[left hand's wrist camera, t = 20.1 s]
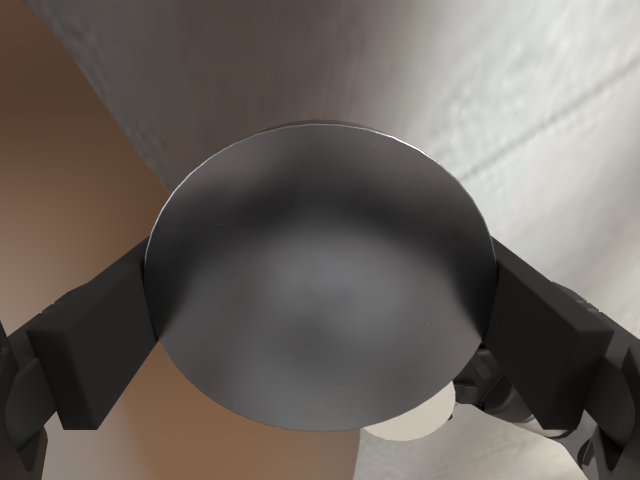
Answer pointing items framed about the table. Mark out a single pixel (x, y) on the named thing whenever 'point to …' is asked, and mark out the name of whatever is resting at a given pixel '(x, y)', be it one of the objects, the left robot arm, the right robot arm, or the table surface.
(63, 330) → the left robot arm
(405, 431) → the jar
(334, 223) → the lid
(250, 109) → the table surface
